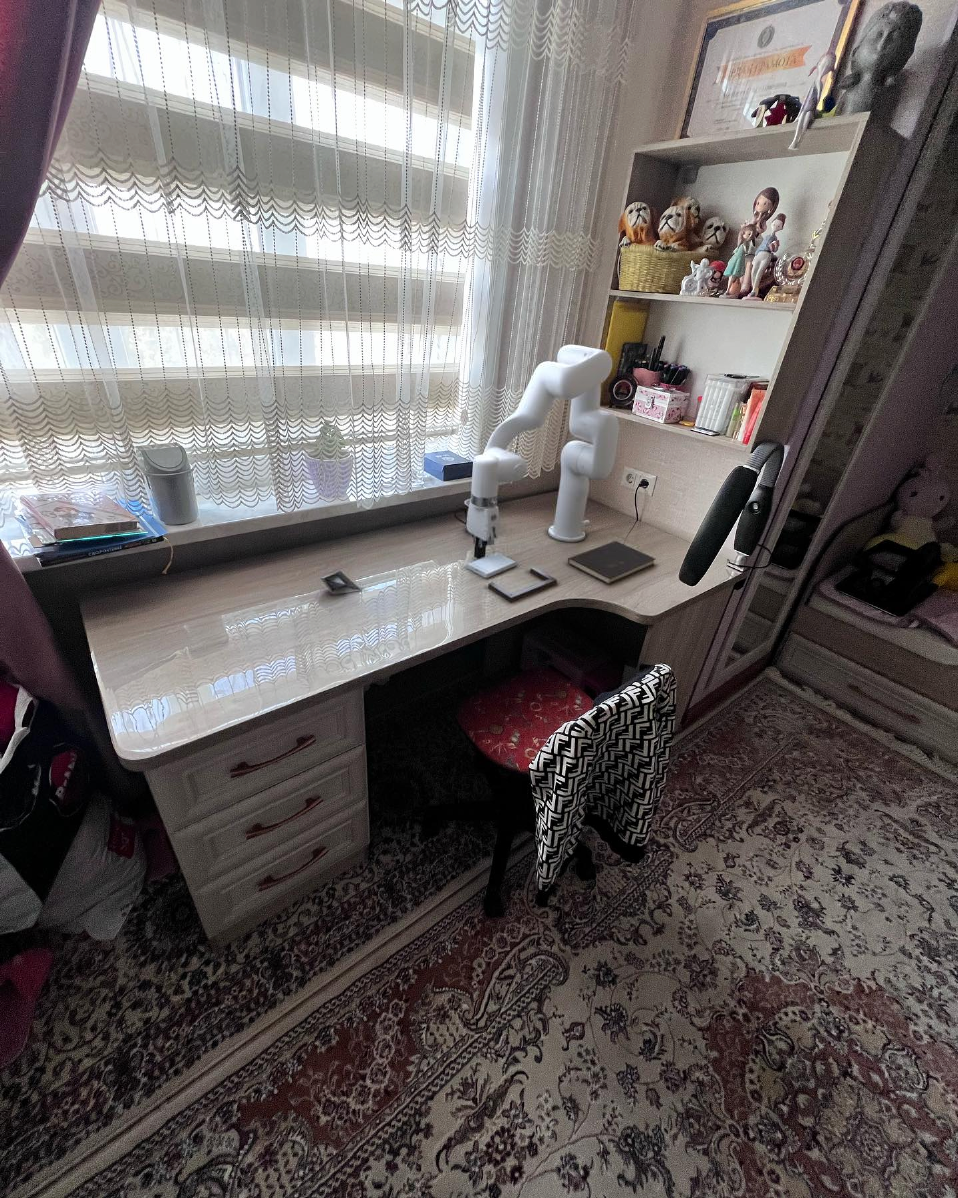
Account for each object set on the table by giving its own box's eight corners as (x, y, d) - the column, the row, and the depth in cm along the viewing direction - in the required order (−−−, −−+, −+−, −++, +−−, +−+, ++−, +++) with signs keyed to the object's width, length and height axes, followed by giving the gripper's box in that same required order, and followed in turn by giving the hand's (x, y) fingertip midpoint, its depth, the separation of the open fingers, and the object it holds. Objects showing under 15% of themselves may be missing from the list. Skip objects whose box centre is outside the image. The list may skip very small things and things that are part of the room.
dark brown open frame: (533, 571, 157) (534, 566, 156) (556, 584, 151) (557, 579, 151) (487, 588, 147) (488, 583, 146) (510, 602, 141) (511, 597, 140)
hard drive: (496, 552, 163) (467, 563, 155) (516, 561, 158) (486, 573, 150) (495, 556, 164) (466, 568, 156) (515, 566, 159) (486, 578, 151)
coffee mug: (489, 527, 183) (491, 499, 178) (487, 537, 176) (489, 509, 170) (456, 523, 184) (457, 496, 178) (452, 533, 176) (453, 505, 171)
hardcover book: (653, 565, 166) (655, 558, 165) (608, 585, 153) (610, 578, 152) (613, 546, 176) (614, 540, 175) (567, 563, 163) (568, 556, 162)
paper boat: (351, 575, 145) (371, 579, 139) (345, 597, 145) (365, 602, 139) (313, 563, 136) (333, 567, 130) (307, 587, 136) (326, 592, 130)
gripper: (511, 505, 148) (505, 563, 158) (477, 489, 158) (473, 545, 167) (491, 510, 144) (486, 570, 154) (457, 493, 154) (454, 550, 163)
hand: (479, 556), depth 160 cm, fingers closed
